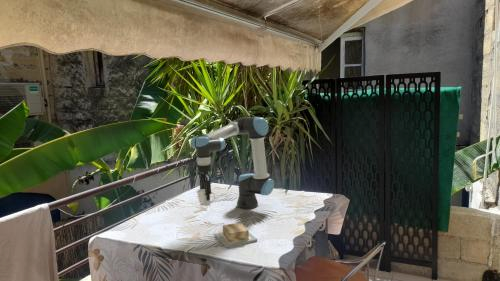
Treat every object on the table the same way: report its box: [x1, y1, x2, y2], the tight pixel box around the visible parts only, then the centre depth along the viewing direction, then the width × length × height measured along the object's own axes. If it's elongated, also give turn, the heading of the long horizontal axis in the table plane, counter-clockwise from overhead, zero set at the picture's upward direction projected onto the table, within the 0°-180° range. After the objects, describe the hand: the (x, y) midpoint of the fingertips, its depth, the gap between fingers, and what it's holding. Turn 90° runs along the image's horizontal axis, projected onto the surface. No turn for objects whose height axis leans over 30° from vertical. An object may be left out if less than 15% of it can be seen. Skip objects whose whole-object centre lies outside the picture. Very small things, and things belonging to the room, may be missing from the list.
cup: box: [196, 188, 216, 206], centre depth 200 cm, size 7×10×8 cm
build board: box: [214, 232, 258, 249], centre depth 195 cm, size 18×18×1 cm
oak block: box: [222, 222, 250, 242], centre depth 195 cm, size 11×13×5 cm
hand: (206, 203), depth 201 cm, fingers closed on cup, 6 cm apart
